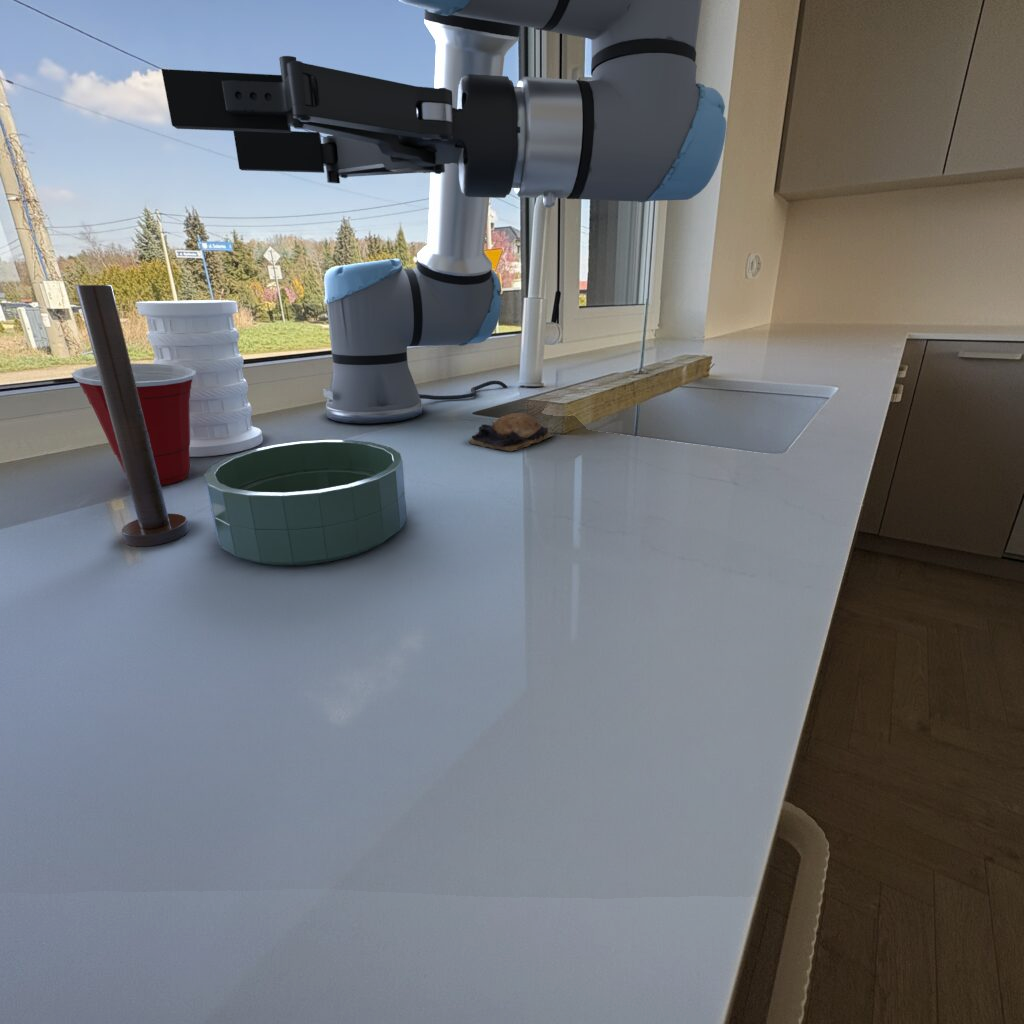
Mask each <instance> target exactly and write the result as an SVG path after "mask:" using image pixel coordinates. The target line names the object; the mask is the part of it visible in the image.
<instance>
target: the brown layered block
mask: <svg viewBox="0 0 1024 1024" xmlns="http://www.w3.org/2000/svg"><path fill="white" fill-rule="evenodd" d="M553 436H554V431H553V430H551V429H549V428H548V427H545V426H543V425H542V424H541V423H540V421H538V420H537V419H536V418H535V417H532V416H531V415H530V414H527V413H524V412H512V413H509V414H504V415H502V416H500V417H497V419H495V420H494V421H492V422H491V425H490V424H486V423H483V424H481V425H480V426H479V427H478V432H477V433H476V434H474V435H472V436H471V438H470V439H468V441H469V444H471V445H477V446H480V447H484V448H486V447H488V448H490V449H492V450H496V449H497V450H501V451H506V452H510V453H511V452H513V451H517V450H518V451H519V450H521V449H524V448H525V447H527V448H528V447H529V446H531V444H537V443H540V442H542V441H543V440H547V439H548V438H551V437H553Z"/></svg>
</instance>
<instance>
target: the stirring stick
mask: <svg viewBox="0 0 1024 1024" xmlns="http://www.w3.org/2000/svg"><path fill="white" fill-rule="evenodd" d="M74 287H75V290H76V294H77V299H78V302H79V305H80V309H81V313H82V317H83V319H84V324H85V328H86V331H87V335H88V339H89V343H90V347H91V350H92V354H93V357H94V362H95V366H97V369H98V373H99V377H100V380H101V384H102V388H103V391H104V395H105V399H106V403H107V406H108V410H109V414H110V418H111V421H112V425H113V429H114V433H115V436H116V440H117V444H118V447H119V451H120V455H121V459H122V462H123V466H124V470H125V473H124V475H125V474H126V475H125V477H126V481H127V485H128V488H129V492H130V496H131V499H132V503H133V507H134V511H135V514H136V515H135V516H136V517H137V519H135V520H132V521H130V522H128V523H126V524H125V525H124V526H123V527H122V528H121V534H122V537H123V541H124V543H125V544H126V545H128V546H132V547H151V546H157V545H163V544H168V543H170V542H173V541H176V540H178V539H181V538H182V537H183V536H184V537H185V536H186V534H188V532H189V530H190V527H189V523H188V519H187V517H186V516H185V515H183V514H179V513H168V509H167V505H166V502H165V497H164V493H163V489H162V485H160V481H159V477H158V473H157V469H156V464H155V460H154V456H153V452H152V448H151V444H150V440H149V436H148V432H147V428H146V424H145V420H144V416H143V411H142V407H141V403H140V399H139V395H138V391H137V387H136V383H135V379H134V375H133V371H132V367H131V364H132V363H131V359H130V354H129V351H128V346H127V343H126V339H125V335H124V330H123V325H122V323H121V322H122V321H121V317H120V314H119V310H118V306H117V301H116V298H115V294H114V289H113V286H112V285H111V284H75V286H74Z"/></svg>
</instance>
